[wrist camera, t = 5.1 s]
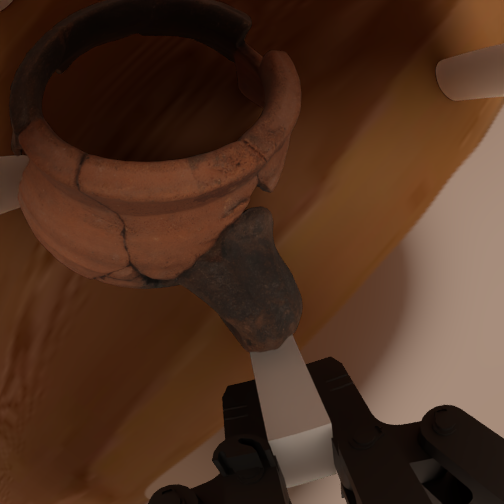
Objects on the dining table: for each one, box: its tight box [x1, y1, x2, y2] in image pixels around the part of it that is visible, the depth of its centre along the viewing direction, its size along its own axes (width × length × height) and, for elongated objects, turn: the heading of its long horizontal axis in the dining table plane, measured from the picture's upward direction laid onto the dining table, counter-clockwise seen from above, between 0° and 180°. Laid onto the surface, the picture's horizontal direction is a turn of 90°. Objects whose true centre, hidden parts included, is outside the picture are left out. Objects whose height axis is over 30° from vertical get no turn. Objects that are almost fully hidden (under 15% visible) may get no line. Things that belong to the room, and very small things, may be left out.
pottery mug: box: [9, 0, 303, 352], centre depth 10 cm, size 12×10×8 cm
